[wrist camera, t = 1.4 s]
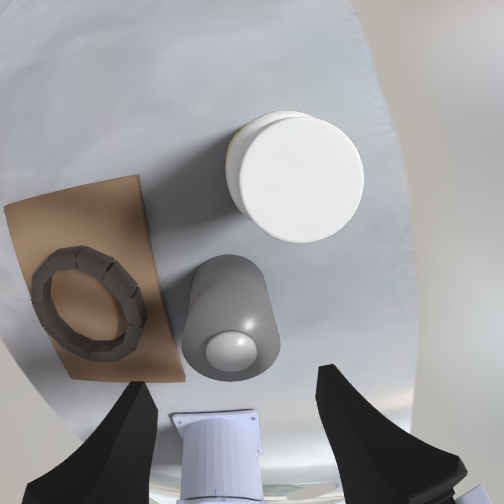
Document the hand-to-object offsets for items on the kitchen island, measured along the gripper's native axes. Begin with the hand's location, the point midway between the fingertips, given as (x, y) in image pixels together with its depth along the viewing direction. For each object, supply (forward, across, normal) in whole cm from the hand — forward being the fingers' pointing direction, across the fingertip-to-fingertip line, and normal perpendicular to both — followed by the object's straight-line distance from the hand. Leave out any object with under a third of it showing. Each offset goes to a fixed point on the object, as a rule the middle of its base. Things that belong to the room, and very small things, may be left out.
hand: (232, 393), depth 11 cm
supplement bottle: (+9, -3, -8) cm, 12 cm away
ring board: (+9, +10, 0) cm, 13 cm away
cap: (+9, 0, 0) cm, 9 cm away
